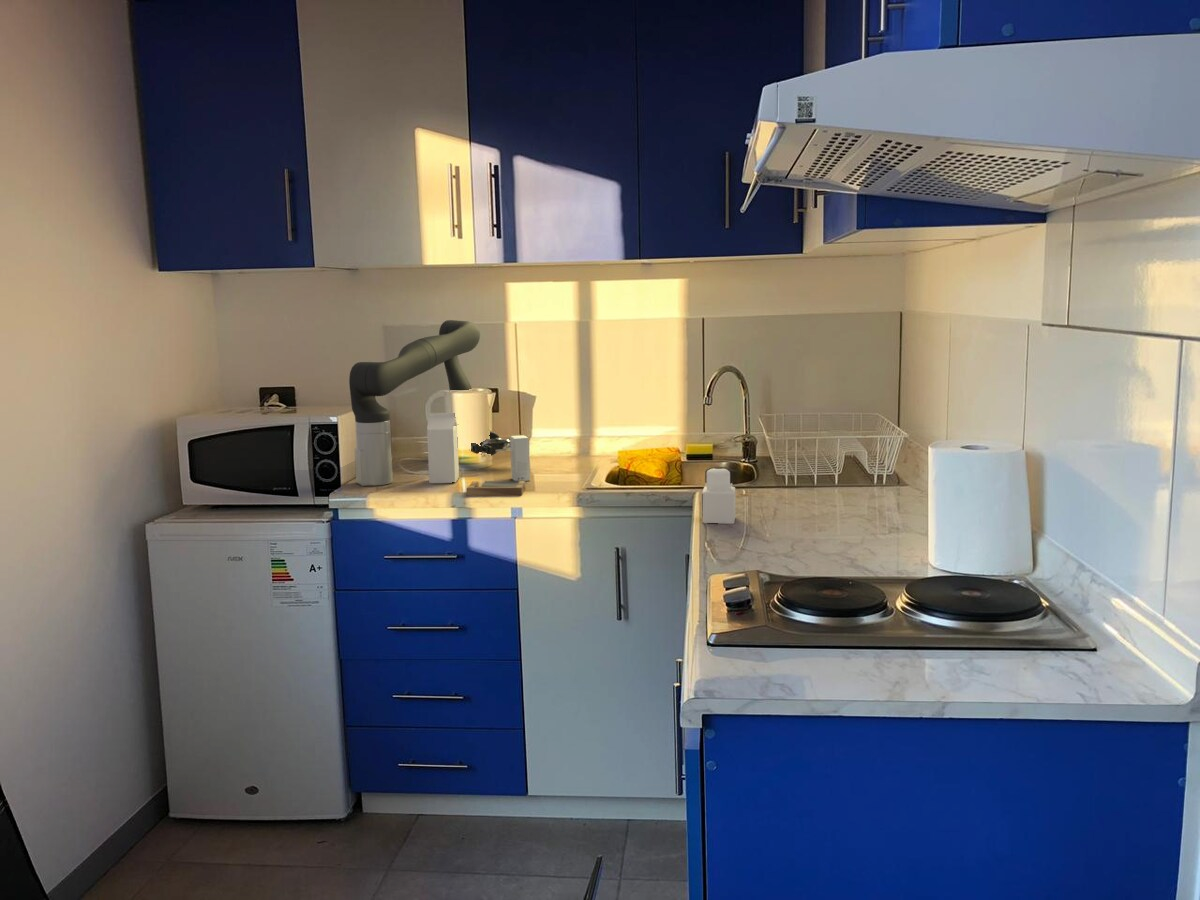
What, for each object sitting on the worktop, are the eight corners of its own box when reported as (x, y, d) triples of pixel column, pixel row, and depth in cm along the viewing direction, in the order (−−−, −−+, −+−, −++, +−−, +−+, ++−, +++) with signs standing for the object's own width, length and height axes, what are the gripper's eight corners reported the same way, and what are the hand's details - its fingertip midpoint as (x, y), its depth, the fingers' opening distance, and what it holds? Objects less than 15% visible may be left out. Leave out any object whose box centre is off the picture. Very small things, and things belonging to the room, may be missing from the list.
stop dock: (478, 482, 287) (477, 475, 287) (529, 482, 287) (528, 474, 286) (467, 496, 269) (466, 488, 268) (521, 495, 268) (521, 487, 268)
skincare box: (530, 480, 288) (529, 437, 287) (515, 482, 287) (514, 438, 285) (525, 477, 294) (524, 434, 292) (510, 478, 293) (509, 435, 291)
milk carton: (455, 483, 286) (452, 414, 283) (429, 484, 286) (426, 414, 283) (459, 478, 293) (456, 411, 290) (433, 479, 293) (431, 411, 290)
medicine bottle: (703, 516, 240) (703, 465, 238) (735, 517, 239) (735, 465, 237) (701, 523, 233) (701, 470, 232) (734, 524, 232) (734, 470, 230)
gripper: (460, 431, 310) (480, 438, 296) (505, 427, 316) (527, 433, 302) (461, 456, 311) (481, 464, 297) (506, 451, 318) (528, 459, 303)
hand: (504, 449), depth 300 cm, fingers open, 8 cm apart
